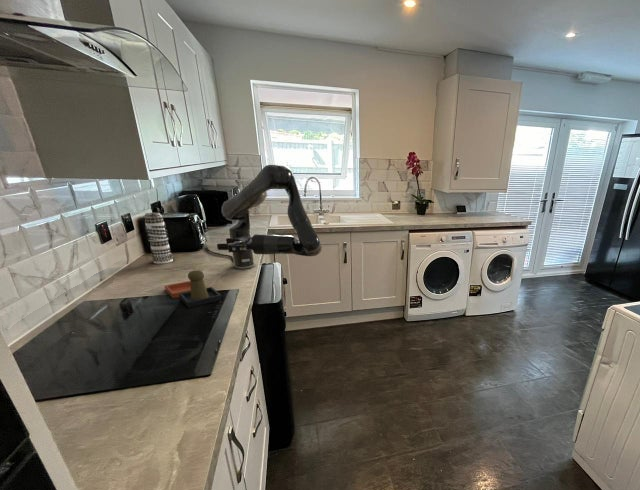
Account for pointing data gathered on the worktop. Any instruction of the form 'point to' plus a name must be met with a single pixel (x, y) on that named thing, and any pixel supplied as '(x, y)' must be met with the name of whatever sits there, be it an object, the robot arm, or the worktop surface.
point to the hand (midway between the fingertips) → (222, 243)
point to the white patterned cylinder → (158, 238)
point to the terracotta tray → (178, 288)
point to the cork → (197, 285)
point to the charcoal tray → (190, 303)
